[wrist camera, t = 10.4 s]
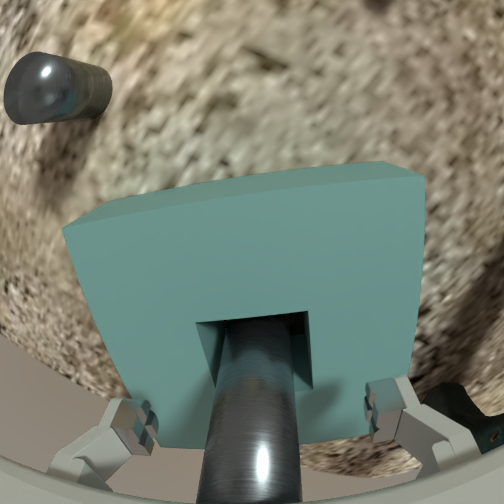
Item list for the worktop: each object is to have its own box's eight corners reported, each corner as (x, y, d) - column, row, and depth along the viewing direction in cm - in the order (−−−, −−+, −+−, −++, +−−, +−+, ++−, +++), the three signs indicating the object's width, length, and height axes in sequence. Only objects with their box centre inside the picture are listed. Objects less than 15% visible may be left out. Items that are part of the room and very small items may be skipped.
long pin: (236, 330, 18) (209, 535, 7) (226, 284, 17) (178, 504, 6) (288, 325, 18) (304, 534, 7) (283, 278, 17) (301, 504, 6)
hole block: (175, 397, 21) (160, 447, 16) (107, 201, 15) (61, 228, 11) (377, 378, 19) (394, 427, 15) (382, 161, 14) (424, 175, 10)
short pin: (69, 127, 14) (7, 134, 9) (62, 77, 13) (1, 70, 8) (116, 111, 14) (59, 109, 9) (108, 57, 13) (53, 39, 8)
